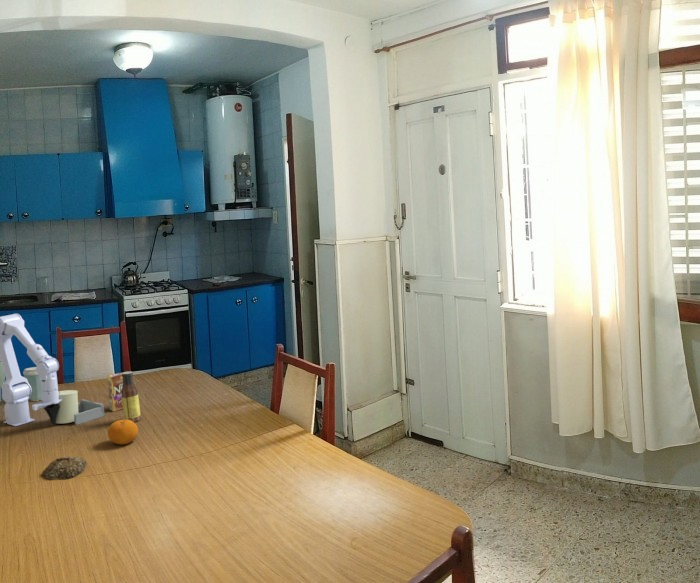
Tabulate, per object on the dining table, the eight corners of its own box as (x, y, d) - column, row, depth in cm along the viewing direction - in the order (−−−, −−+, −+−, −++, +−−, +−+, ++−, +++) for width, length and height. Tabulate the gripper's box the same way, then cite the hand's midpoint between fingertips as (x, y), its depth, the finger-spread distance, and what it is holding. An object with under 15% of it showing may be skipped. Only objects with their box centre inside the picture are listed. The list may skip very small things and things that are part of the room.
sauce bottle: (143, 417, 253) (139, 370, 250) (136, 423, 247) (132, 374, 244) (128, 418, 254) (124, 370, 251) (121, 423, 248) (116, 374, 245)
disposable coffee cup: (26, 398, 288) (23, 366, 286) (52, 394, 292) (49, 363, 290) (25, 404, 278) (21, 371, 276) (51, 400, 283) (48, 368, 281)
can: (50, 421, 252) (49, 391, 251) (73, 416, 258) (72, 387, 258) (59, 424, 245) (58, 394, 245) (83, 420, 252) (81, 390, 251)
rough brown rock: (91, 463, 208) (90, 449, 208) (76, 479, 196) (75, 464, 195) (52, 465, 208) (51, 451, 207) (35, 481, 196) (33, 466, 195)
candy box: (113, 412, 262) (110, 376, 260) (109, 409, 265) (106, 375, 263) (133, 406, 268) (131, 372, 266) (129, 404, 271) (126, 370, 270)
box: (56, 419, 255) (54, 407, 255) (84, 410, 266) (83, 399, 265) (76, 424, 247) (75, 412, 247) (104, 415, 258) (103, 404, 257)
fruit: (107, 449, 220) (105, 427, 219) (110, 439, 230) (108, 418, 229) (138, 445, 223) (136, 424, 222) (139, 435, 233) (138, 415, 232)
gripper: (37, 395, 237) (41, 430, 239) (72, 386, 249) (76, 419, 250) (27, 393, 241) (31, 427, 243) (62, 384, 253) (66, 416, 254)
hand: (53, 422), depth 247 cm, fingers closed
